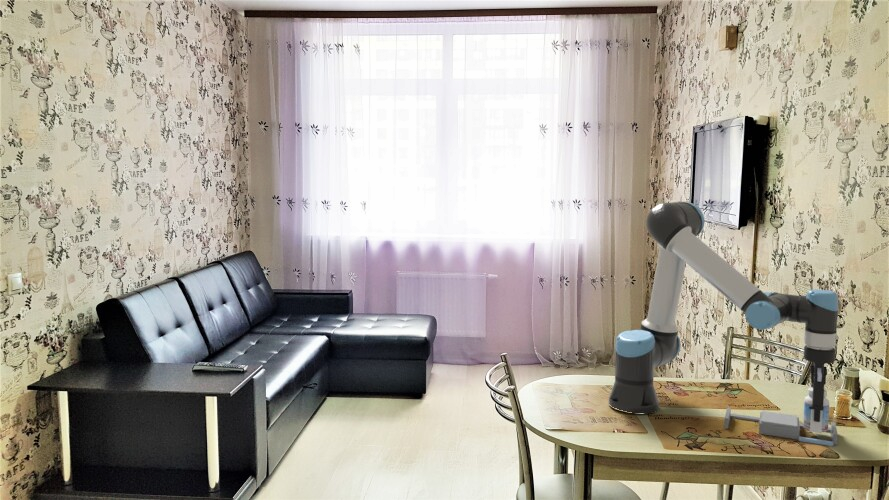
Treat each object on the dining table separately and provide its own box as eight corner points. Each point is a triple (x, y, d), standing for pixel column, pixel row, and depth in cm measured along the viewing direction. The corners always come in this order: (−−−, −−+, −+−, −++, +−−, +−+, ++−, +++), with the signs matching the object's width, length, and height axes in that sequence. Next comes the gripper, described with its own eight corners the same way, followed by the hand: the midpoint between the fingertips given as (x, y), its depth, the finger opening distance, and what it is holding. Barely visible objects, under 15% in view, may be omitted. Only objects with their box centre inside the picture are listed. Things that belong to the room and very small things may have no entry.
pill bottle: (831, 433, 179) (833, 394, 178) (807, 432, 181) (809, 392, 179) (823, 425, 185) (825, 387, 184) (799, 424, 187) (801, 385, 185)
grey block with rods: (723, 429, 188) (724, 417, 188) (727, 414, 200) (727, 403, 199) (837, 446, 176) (838, 433, 175) (834, 430, 187) (834, 418, 187)
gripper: (838, 356, 170) (833, 442, 173) (833, 340, 187) (828, 418, 190) (805, 353, 174) (800, 437, 176) (803, 337, 191) (799, 414, 193)
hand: (815, 427), depth 183 cm, fingers closed on pill bottle, 6 cm apart
